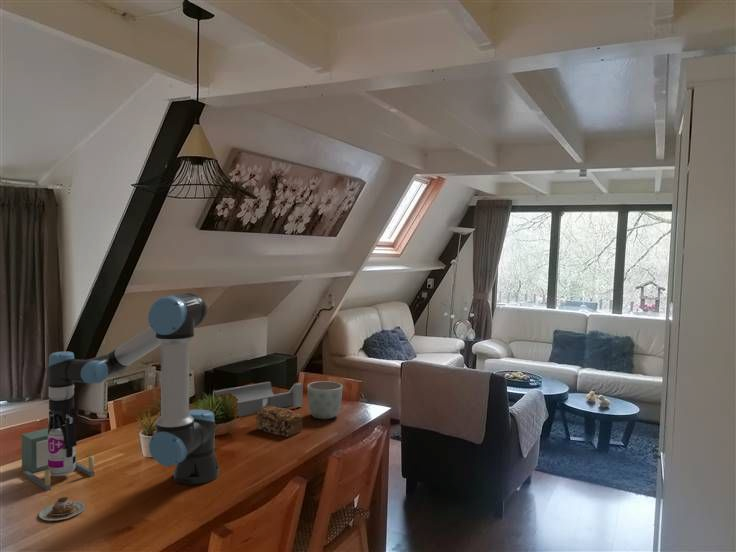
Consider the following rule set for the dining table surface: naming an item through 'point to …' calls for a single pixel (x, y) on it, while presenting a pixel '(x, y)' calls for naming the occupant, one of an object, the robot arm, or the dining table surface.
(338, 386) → the planter
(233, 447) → the dining table surface
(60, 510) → the pastry
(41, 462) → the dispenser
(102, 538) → the dining table surface
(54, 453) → the supplement can
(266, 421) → the bread
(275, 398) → the grey channel bracket
